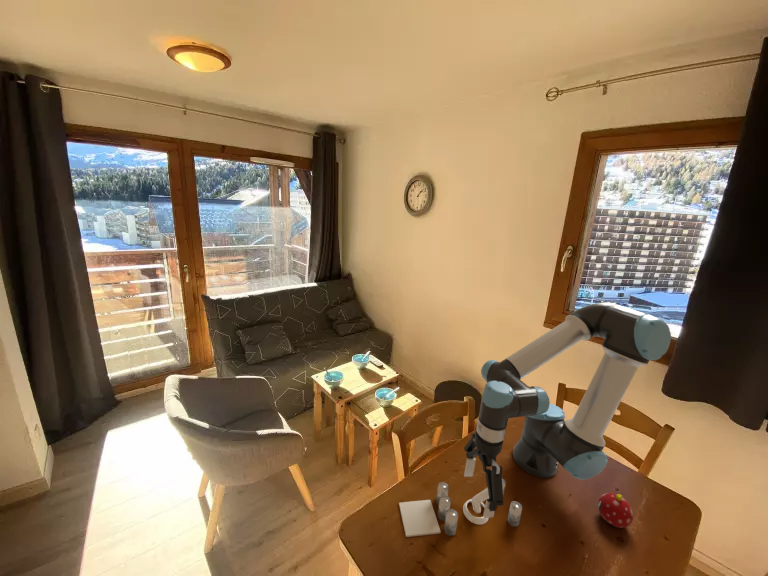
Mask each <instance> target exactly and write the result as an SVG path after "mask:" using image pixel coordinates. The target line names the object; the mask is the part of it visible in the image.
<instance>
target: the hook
mask: <svg viewBox="0 0 768 576" xmlns="http://www.w3.org/2000/svg"><path fill="white" fill-rule="evenodd" d="M487 497H489V494H488V487H486V488H485V489H483V490H482V491H480V492H479V493H477V494H475V495H474V496H473V497H472V498H470V499H468V500H466V501H465V503H464V504H463V507H462V512H463V515H464V516H465V518H466V519H467V520H468V521H469V522H471V523H473V524H474V525H479V526H480V525H485V524H486V523H487V522H488V521H489V518H490V517H489V518H484V516H481V517H480V516H479V517H478V516H476V515H473V514H472V513H471V512H470V511H469V509H468V504H469V503H471V505H472V510H473V511H474V513H476V514H481V512H482V507H483V509H485V504H484V502H486V499H487Z"/></svg>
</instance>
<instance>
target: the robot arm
mask: <svg viewBox="0 0 768 576" xmlns="http://www.w3.org/2000/svg"><path fill="white" fill-rule="evenodd" d="M595 337H599V338H601V339H603V340H604V341H603V342H602V345H601V347H602V349H603V351H604V354H603V356H602V358H601V360H600V362H599V365H598V367H597V369H596V371H595V372H594V374H593V377H592V378H591V381H590V383H589V385H588V387H587V389H586V391H585V392H584V395H583V397H582V398H581V401H580V402H579V403H580V404H579V405H578V408H577V409H576V411H575V413H574V416H573V417H572V418H571V419H565V418H566V416H565V414H566V413H565V411H564V410H563V408H561V407H559V406H557V405H555V404H553V403H550V402H551V401H550V397H549V395H548V393H547V391H546V390H544V388H543V387H540V386H534V385H533V386H528V385H527V384H526V383H525V382H524V381H523V380H522V379H523V378H525V377H526V376H528V375H529V374H531V373H532V372H534V371H535V370H538V369H539V368H540V367H542V366H543V365H545V364H546V363H548V362H550V361H551V360H553V359H554V358H556V357H557V356H560V355H561V354H562V353H564V352H565V351H567V350H568V349H570V348H571V347H573V346H575V345H576V344H578V343H579V342H581V341H589V340H590V339H592V338H595ZM671 341H672V332H671V329H670V327H669V325H668V323H666V322H665V320H663V319H660V318H658V317H656V316H653V315H651V314H649V313H645V312H642V311H639V310H635V309H633V308H629V307H626V306H623V305H621V304H618V303H614V302H597V303H593V304H590V305H589V304H588V305H586V306H583V307H581V308H578V309H576V310H575V311H573V312H571V313H569V314H568V315H566V316H565V319H564V321H563V322H561V323H560V324H557V326H555V327H553V328H552V329H550V330H548V331H547V332H545V333H544V334H543V335H541V336H539V337H538V338H536V339H534V340H533V341H531V342H529V343H528V344H527V345H525V346H523V347H522V348H520V349H519V350H517V351H515V352H514V353H512V354H511V355H509V356H508V357H506V358H505V359H503V360H502V361H498V360H496V359H490V360H488V361H486V362H485V363H484V364H483V365H482V367H481V369H480V374H481V377H482V378H483V380H484V381H485V382H486V384H485V385H484V388H483V392H482V394H481V401H480V406H479V413H478V419H477V424H476V430H475V432H473V433H472V434H471V437H470V439H469V440H468V441H467V443H466V444H465V446H464V447H463V448H464V449H463V450H464V451H465V452H466V453H465V455H466V456H465V457H466V460H465V468H464V473H463V476H464V478H471V477H474V472H475V468H476V467H475V466H476V460H477V459H476V458H477V457H478V460H479V461H480V462H481V464H482V470H483V472H484V474H485V478H486V479H485V481H486V488H488V494H489V497H487V499H486V500H485V504H484V505H485V508H483V516H484V518H494V516H495V512H496V511H497V507H499V506H504V494H503V487H502V479H503V466H502V465H501V464H499V465H498V463H497V456H498V455H499V454H500V453H502V449H503V444H504V439H505V436H506V431H507V426H508V422H509V419H513V418H520V417H524V422H523V426H522V427H523V429H522V431H521V437H520V438H519V439H518V441H517V442H516V443H515V444H514V447H513V451H512V457H513V460H514V462H515V463H516V465H518V466H519V468H521V469H522V470H523V471H524V472H526V473H528V474H530V475H532V476H535V477H538V478H542V479H545V478H547V479H548V478H552V477H554V476H556V475H557V472H558V468H559V464H560V466H562V467H563V470H565V471H567V472H568V473H569V474H570V475H571V476H572V477H573V478H575V479H577V480H582V481H583V480H585V481H587V480H589V479H593V478H594V477H596V476H597V475H599V474H600V473H601V472H602V471H603V470H604V469H605V468H606V467H607V465H608V456H607V454H606V453H605V452H604V451H603V450H604V448H605V447H606V440H605V439H604V434H605V432H606V430H607V428H608V427H609V425H610V422H611V420H612V419H613V416H614V415H615V413H616V411H617V408H618V407H619V405H620V403H621V401H622V399H623V398H624V395H625V394H626V391H627V389H629V385H630V383H631V382H632V381H633V378H634V376H635V374H636V372H637V371H638V368H640V367H643V366H647V365H648V364H649V362H650V361H657V360H659V359H661V358H662V357H663V356H665V354H666V353H667V352H668V350H669V347H670V344H671ZM483 516H482V517H483Z"/></svg>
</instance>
